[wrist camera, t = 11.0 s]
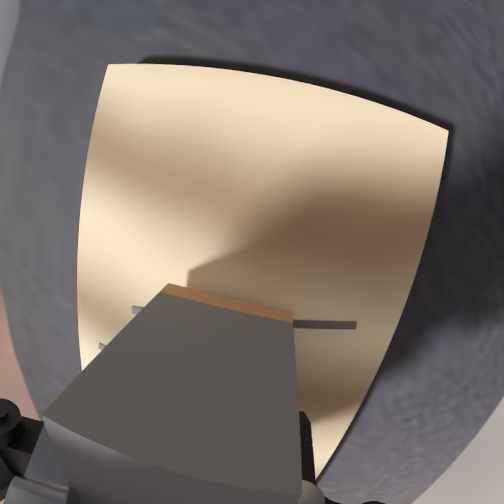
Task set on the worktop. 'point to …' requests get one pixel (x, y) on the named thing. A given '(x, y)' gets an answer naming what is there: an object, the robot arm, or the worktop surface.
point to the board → (259, 215)
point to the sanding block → (185, 407)
